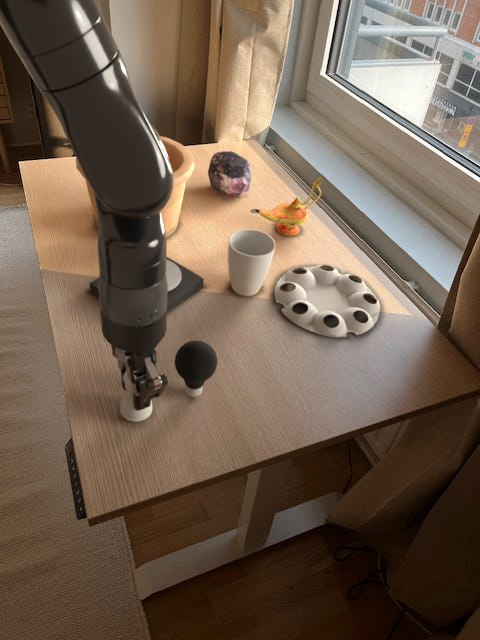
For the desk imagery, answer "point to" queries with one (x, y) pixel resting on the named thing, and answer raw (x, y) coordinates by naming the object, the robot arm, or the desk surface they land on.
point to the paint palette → (327, 300)
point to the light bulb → (195, 365)
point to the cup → (249, 260)
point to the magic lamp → (289, 213)
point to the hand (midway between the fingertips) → (136, 396)
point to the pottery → (181, 173)
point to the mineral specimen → (229, 173)
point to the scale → (172, 283)
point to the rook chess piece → (127, 404)
